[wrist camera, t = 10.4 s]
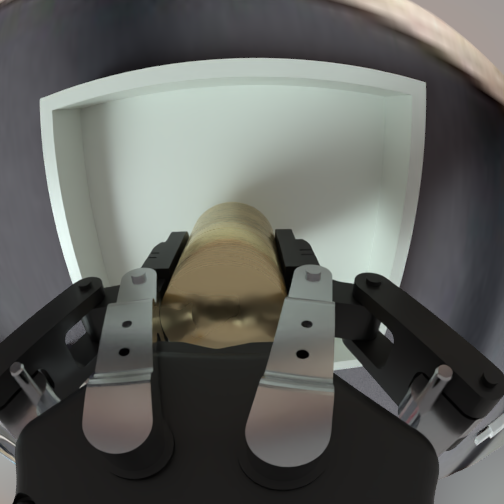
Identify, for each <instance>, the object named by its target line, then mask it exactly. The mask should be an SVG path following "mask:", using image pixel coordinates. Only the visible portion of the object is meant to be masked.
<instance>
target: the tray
mask: <svg viewBox="0 0 504 504" xmlns="http://www.w3.org/2000/svg"><path fill="white" fill-rule="evenodd" d="M40 118H41V134H42V146H43V155H44V163H45V171H46V177H47V184H48V189H49V195H50V200H51V205H52V210H53V215H54V219H55V224H56V228H57V232H58V236H59V240H60V243H61V247H62V251H63V254H64V258H65V261H66V264H67V267H68V271H69V274H70V277H71V280H72V283H73V284H74V283H75V282H77V281H79V280H81V279H83V278H87V277H98V278H100V279H101V280H102V283H103V286H104V288H106V287H111V286H117V285H120V283H121V279H122V277H123V276H124V275H125V274H126V273H127V272H129V271H131V270H134V269H137V268H141V267H142V265H143V263H144V262H145V260H146V259H147V258H148V256H149V254H150V252H151V251H152V249H153V248H154V247H155V246H156V245H158V244H159V243H161V242H166V240H167V239H168V237H169V235H170V234H171V232H180V231H187V232H188V234H189V236H190V234H191V232H192V230H193V228H194V225H195V223H196V222H197V220H198V219H199V217H200V216H201V215H202V214H203V213H204V212H205V211H206V210H208V209H209V208H211V207H213V206H215V205H218V204H221V203H225V202H239V203H244V204H247V205H250V206H252V207H254V208H256V209H257V210H259V211H260V212H261V213H262V214H263V215H264V216H265V217H266V218H267V220H268V221H269V223H270V225H271V226H272V229H273V233H274V237H275V229H292V232H293V234H294V237H295V239H304V240H305V241H307V242H308V243H309V244H310V245H311V247H312V250H313V251H314V254H315V256H316V258H317V260H318V262H319V264H320V266H322V267H325V268H327V269H328V270H330V272H331V273H332V279H333V280H336V281H340V282H346V283H353V284H354V280H355V277H356V276H357V275H358V274H361V273H366V272H370V273H376V274H379V275H382V276H384V277H386V278H387V279H388V280H390V281H391V282H392V283H394V284H395V285H397V286H398V287H400V283H401V280H402V276H403V272H404V268H405V264H406V260H407V255H408V251H409V247H410V242H411V237H412V232H413V227H414V222H415V216H416V210H417V204H418V198H419V191H420V183H421V175H422V166H423V155H424V142H425V123H426V82H423V81H419V80H416V79H412V78H408V77H405V76H401V75H397V74H392V73H388V72H384V71H379V70H374V69H369V68H364V67H358V66H352V65H345V64H338V63H331V62H322V61H312V60H299V59H281V58H232V59H214V60H202V61H192V62H183V63H175V64H168V65H162V66H156V67H150V68H145V69H139V70H135V71H130V72H125V73H121V74H117V75H113V76H109V77H105V78H101V79H98V80H94V81H91V82H87V83H84V84H81V85H78V86H74V87H71V88H68V89H66V90H63V91H60V92H57V93H54V94H52V95H49V96H47V97H44V98H42V99H40ZM386 329H387V327H386V326H385V325H384V324H383V323H382V322H381V325H380V328H379V331H380V332H381V333H382V334H383V335H385V332H386ZM361 366H363V365H362V364H361V363H360V362H359V361H358V360H357V359H356V357H355V356H354V355H353V354H352V353H351V352H350V351H349V350H348V348H347V347H346V346H345V345H344V344H343V342H342V338H335V341H334V367H333V370H339V369H347V368H354V367H361Z"/></svg>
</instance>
